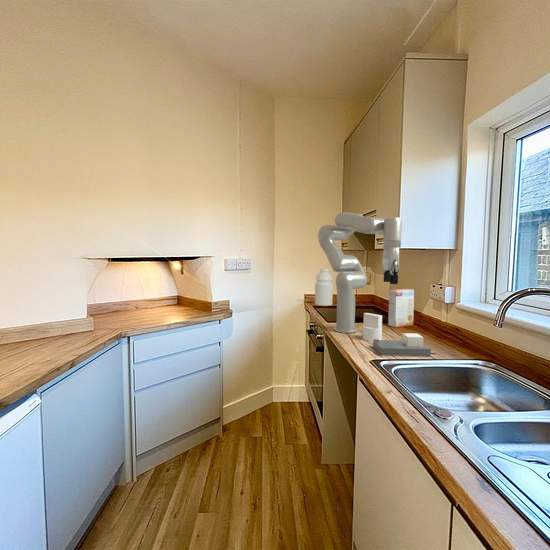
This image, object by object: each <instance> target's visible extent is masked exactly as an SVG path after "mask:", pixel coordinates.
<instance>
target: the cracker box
mask: <svg viewBox="0 0 550 550" xmlns="http://www.w3.org/2000/svg"><path fill="white" fill-rule="evenodd" d="M414 304H415V289H412V288H400V289H399V288H398V289H389V290H388V318H387V319H388V320H387V321H388V327H392V328H395V329H396V328H402V327H409V326H411V327H412V326H414V309H415V307H414V306H415V305H414Z"/></svg>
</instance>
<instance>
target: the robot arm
mask: <svg viewBox="0 0 550 550" xmlns="http://www.w3.org/2000/svg"><path fill="white" fill-rule="evenodd" d="M402 222H403V221H402V218H401V217H397V216H387V217H386V218H385V217H384V218H383V217H373V216H371V217H369V216H364V215H363V214H361V213H356V212H346V211H343V212H339V213H337V214H336V216H335V218H334V223H335V224H326V225H325V224H324V225H322V226H321V227H320V228H319V230H318V233H317V239H318V243H319V246H320V248H322V250H323V252H324V254H325V255H326V258H327V260H328V263H329V265H330V267H331V269H332V270H333V271H334V272H335V273H337V275H336V277H335V287H336V325H335V326H334V327H333V329H334V330H335V332H336V331H337V333H341V332H342V333H343V334H353V333H354V332H355V333H357V332H358V328H357V327H355V324H356V322H355V321H356V295H355V293H354V291H353V290H356V289H357V290H358V289H363V288H365V287H366V286H367V283H368V277H367V274H366V272H365V270H364V268H363V266H362V264H361V263H360V261H359V259H358V257H356V256H354V255H352V254H344V253H343V252H342V249H341V247H340V246H339V245H338V244H337V243H336V242H335V241H339V242H340V241H345V240H347V239H349V237H351V236H352V235H353V234H354V233H355V232H356V233H362V234H368V235H383V237H382V248H383V253H382V265H381V269H382V270H383V283H389V284H390V285H398V284H399V269H400V249H401V248H402V247H401V245H402ZM333 329H332V330H333ZM334 330H333V331H334Z"/></svg>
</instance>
